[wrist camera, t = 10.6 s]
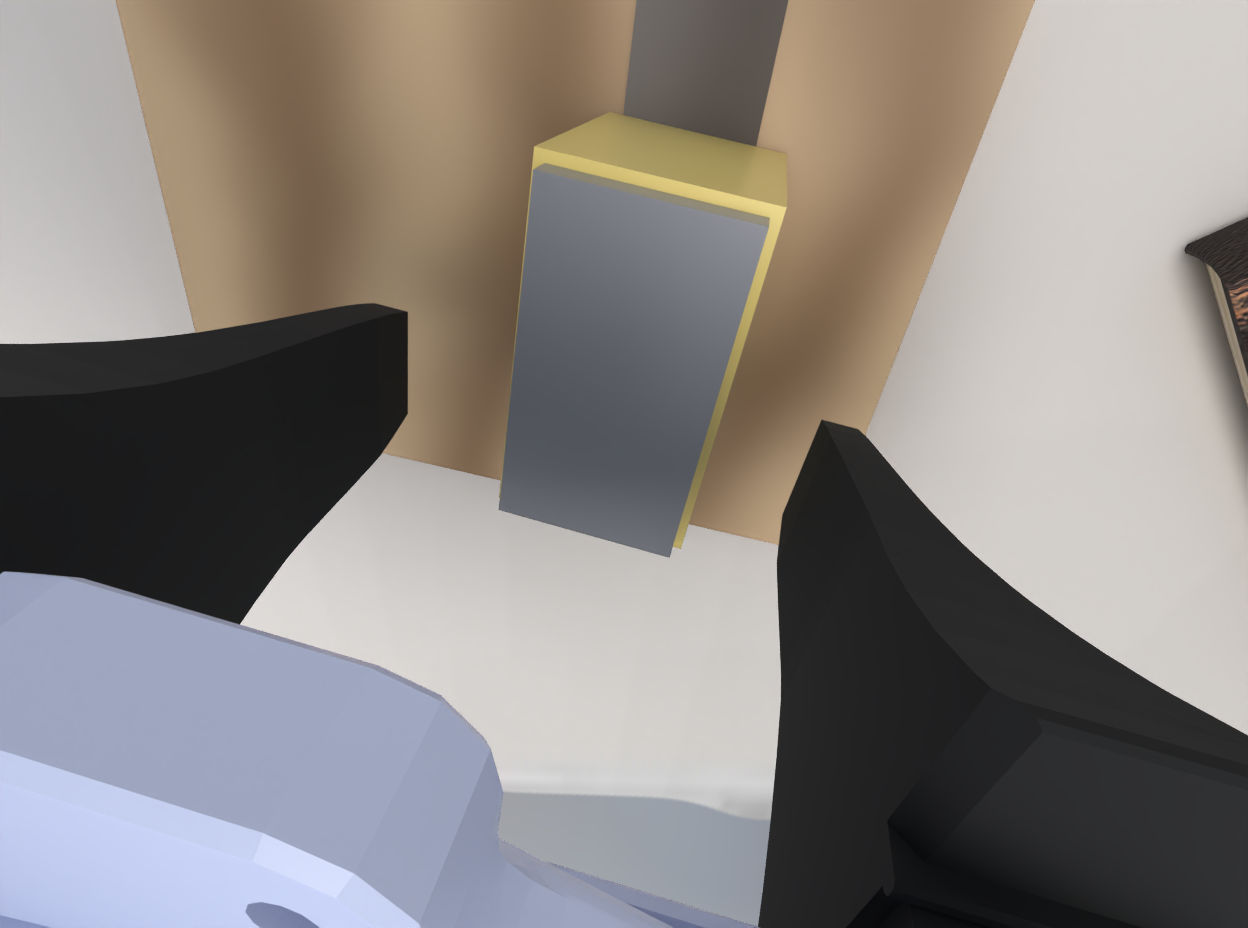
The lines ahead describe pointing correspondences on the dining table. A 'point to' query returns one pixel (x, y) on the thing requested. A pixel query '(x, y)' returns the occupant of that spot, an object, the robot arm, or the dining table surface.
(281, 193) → the board
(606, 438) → the block
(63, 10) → the dining table surface
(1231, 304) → the hardcover book
